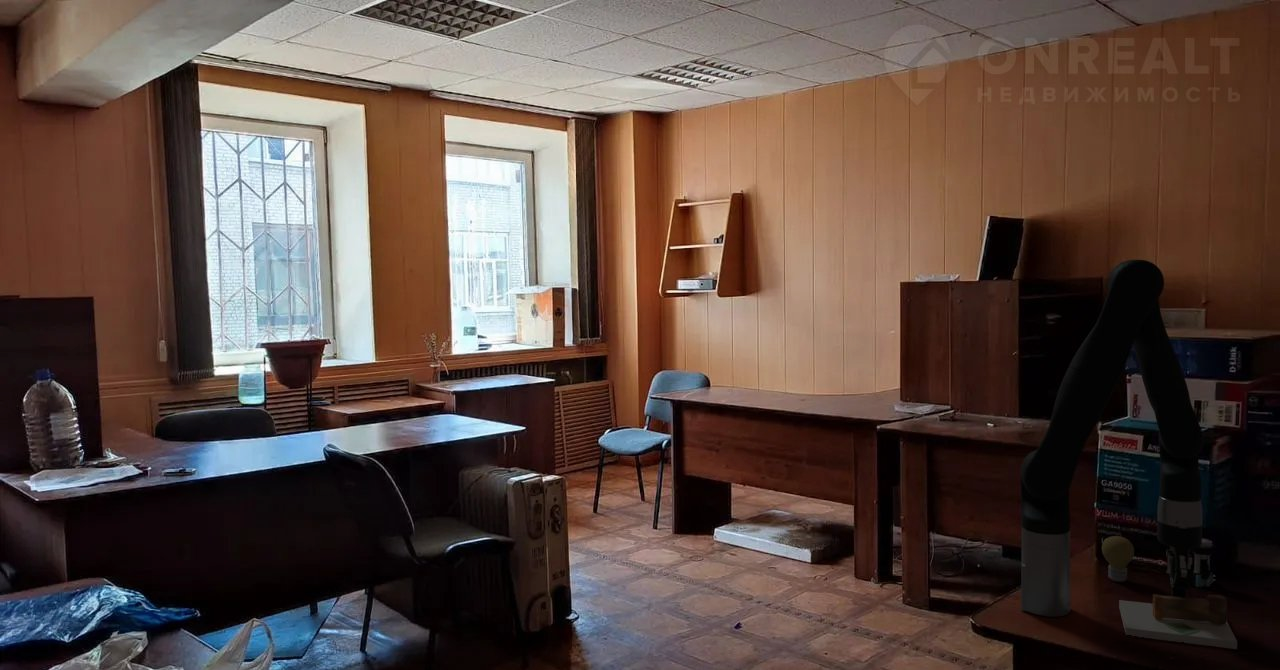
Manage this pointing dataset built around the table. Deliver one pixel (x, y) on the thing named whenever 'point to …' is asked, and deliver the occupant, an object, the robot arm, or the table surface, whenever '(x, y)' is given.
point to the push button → (1202, 564)
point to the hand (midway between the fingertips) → (1178, 605)
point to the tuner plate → (1173, 627)
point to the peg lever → (1191, 608)
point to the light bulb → (1117, 556)
